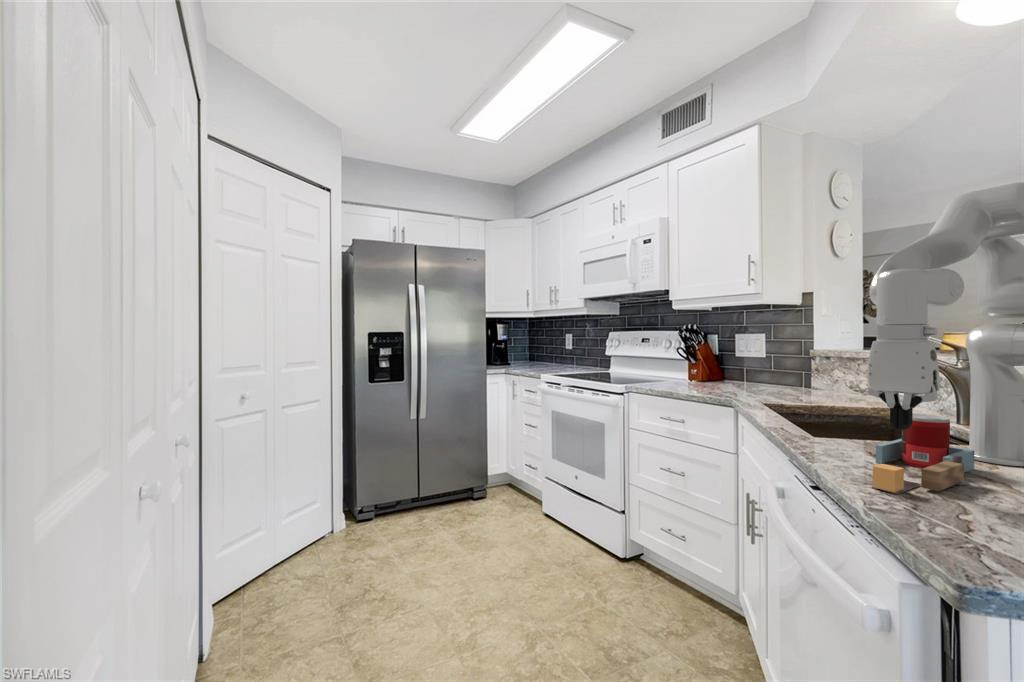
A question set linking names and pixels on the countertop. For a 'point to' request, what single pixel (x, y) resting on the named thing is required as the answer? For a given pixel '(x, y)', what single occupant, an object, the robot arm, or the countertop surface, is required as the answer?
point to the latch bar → (943, 474)
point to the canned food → (926, 440)
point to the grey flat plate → (907, 486)
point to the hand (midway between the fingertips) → (901, 428)
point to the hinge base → (963, 483)
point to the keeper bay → (894, 451)
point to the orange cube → (888, 477)
